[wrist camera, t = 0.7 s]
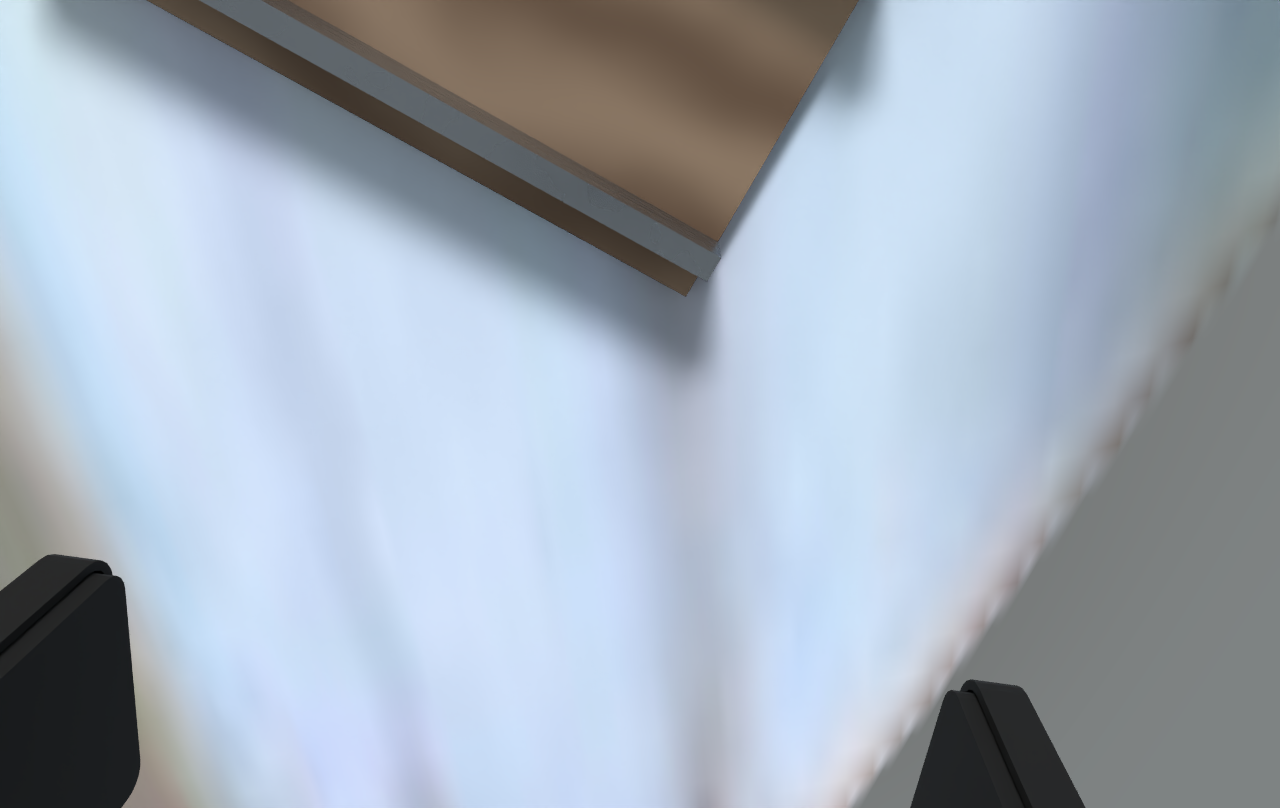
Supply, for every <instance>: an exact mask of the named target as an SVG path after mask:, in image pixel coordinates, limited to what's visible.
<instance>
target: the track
mask: <svg viewBox="0 0 1280 808" xmlns="http://www.w3.org/2000/svg"><path fill="white" fill-rule="evenodd" d="M147 1H149V2H151V3H153V4H154V5H156V6H158V7H160V8H162V9H164V10H165V11H167V12H169V13H171V14H173V15H174V16H176V17H178V18H180V19H182V20H184V21H185V22H187V23H189V24H191V25H193V26H194V27H196V28H198V29H200V30H202V31H204V32H205V33H207V34H209V35H211V36H213V37H214V38H216V39H218V40H220V41H222V42H224V43H225V44H227V45H229V46H231V47H233V48H234V49H236V50H238V51H240V52H242V53H244V54H245V55H247V56H249V57H251V58H253V59H254V60H256V61H258V62H260V63H262V64H264V65H265V66H267V67H269V68H271V69H273V70H274V71H276V72H278V73H280V74H282V75H284V76H285V77H287V78H289V79H291V80H293V81H295V82H296V83H298V84H300V85H302V86H304V87H305V88H307V89H309V90H311V91H313V92H315V93H316V94H318V95H320V96H322V97H324V98H325V99H327V100H329V101H331V102H333V103H335V104H336V105H338V106H340V107H342V108H344V109H345V110H347V111H349V112H351V113H353V114H355V115H356V116H358V117H360V118H362V119H364V120H365V121H367V122H369V123H371V124H373V125H375V126H376V127H378V128H380V129H382V130H384V131H385V132H387V133H389V134H391V135H393V136H395V137H396V138H398V139H400V140H402V141H404V142H405V143H407V144H409V145H411V146H413V147H415V148H416V149H418V150H420V151H422V152H424V153H425V154H427V155H429V156H431V157H433V158H435V159H436V160H438V161H440V162H442V163H444V164H445V165H447V166H449V167H451V168H453V169H455V170H456V171H458V172H460V173H462V174H464V175H465V176H467V177H469V178H471V179H473V180H475V181H476V182H478V183H480V184H482V185H484V186H486V187H487V188H489V189H491V190H493V191H495V192H496V193H498V194H500V195H502V196H504V197H506V198H507V199H509V200H511V201H513V202H515V203H516V204H518V205H520V206H522V207H524V208H526V209H527V210H529V211H531V212H533V213H535V214H536V215H538V216H540V217H542V218H544V219H546V220H547V221H549V222H551V223H553V224H555V225H556V226H558V227H560V228H562V229H564V230H566V231H567V232H569V233H571V234H573V235H575V236H576V237H578V238H580V239H582V240H584V241H586V242H587V243H589V244H591V245H593V246H595V247H596V248H598V249H600V250H602V251H604V252H606V253H607V254H609V255H611V256H613V257H615V258H616V259H618V260H620V261H622V262H624V263H626V264H627V265H629V266H631V267H633V268H635V269H636V270H638V271H640V272H642V273H644V274H646V275H647V276H649V277H651V278H653V279H655V280H656V281H658V282H660V283H662V284H664V285H666V286H667V287H669V288H671V289H673V290H675V291H676V292H678V293H680V294H682V295H684V296H687V294H688V292H689V290H690V289H691V287H692V285H693V284H694V282H695V280H696V278H697V277H699V278H701V279H703V280H705V281H708V279H709V277H710V276H711V274H712V272H713V271H714V269H715V267H716V265H717V264H718V262H719V260H720V259H721V255H720V250H719V245H718V241H719V239H720V237H721V236H722V234H723V232H724V230H725V229H726V227H727V225H728V224H729V222H730V220H731V218H732V217H733V215H734V213H735V212H736V210H737V208H738V206H739V205H740V203H741V201H742V200H743V198H744V196H745V194H746V193H747V191H748V189H749V188H750V186H751V184H752V182H753V181H754V179H755V177H756V176H757V174H758V172H759V170H760V169H761V167H762V165H763V164H764V162H765V160H766V158H767V157H768V155H769V153H770V152H771V150H772V148H773V146H774V145H775V143H776V141H777V140H778V138H779V136H780V134H781V133H782V131H783V129H784V128H785V126H786V124H787V122H788V121H789V119H790V117H791V116H792V114H793V112H794V110H795V109H796V107H797V105H798V104H799V102H800V100H801V98H802V97H803V95H804V93H805V92H806V90H807V88H808V86H809V85H810V83H811V81H812V80H813V78H814V76H815V74H816V73H817V71H818V69H819V68H820V66H821V64H822V62H823V61H824V59H825V57H826V56H827V54H828V52H829V50H830V49H831V47H832V45H833V44H834V42H835V40H836V38H837V37H838V35H839V33H840V32H841V30H842V28H843V26H844V25H845V23H846V21H847V20H848V18H849V16H850V14H851V13H852V11H853V9H854V8H855V6H856V4H857V2H858V1H859V0H147Z"/></svg>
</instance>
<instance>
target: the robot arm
mask: <svg viewBox="0 0 1280 808" xmlns="http://www.w3.org/2000/svg"><path fill="white" fill-rule="evenodd" d="M139 770H140V751H139V740H138V729H137V718H136V706H135V695H134V684H133V672H132V661H131V650H130V639H129V627H128V616H127V605H126V594H125V586H124V582H123V581H122V579H121V578H120V577H118V576H113V575H112V571H111V568H110V567H109V565H108V564H107V563H105V562H103V561H101V560H93V559H86V558H79V557H71V556H64V555H57V554H53V555H47V556H45V557H43V558H42V559H40V560H39V561H37V562H36V563H35V564H34V565H32V566H31V567H30V568H29V569H27V570H26V571H25V572H24V573H22V574H21V575H20V576H19V577H17V578H16V579H15V580H14V581H12V582H11V583H10V584H9V585H7V586H6V587H5V588H4V589H2V590H1V591H0V808H121V807H122V806H123V805H124V803H125V802H126V801H127V799H128V798H129V796H130V795H131V793H132V791H133V789H134V787H135V785H136V782H137V779H138V775H139ZM910 808H1085V806H1084V804H1083V802H1082V800H1081V798H1080V797H1079V794H1078V792H1077V791H1076V789H1075V787H1074V785H1073V783H1072V781H1071V779H1070V777H1069V775H1068V773H1067V771H1066V769H1065V767H1064V765H1063V763H1062V762H1061V760H1060V758H1059V756H1058V754H1057V752H1056V750H1055V748H1054V746H1053V744H1052V742H1051V740H1050V738H1049V736H1048V734H1047V733H1046V731H1045V729H1044V727H1043V725H1042V723H1041V721H1040V719H1039V717H1038V715H1037V713H1036V711H1035V709H1034V707H1033V705H1032V703H1031V702H1030V699H1029V698H1028V696H1027V694H1026V693H1025V691H1024V690H1023V689H1022V688H1021V687H1019V686H1015V685H1008V684H1007V685H1006V684H1000V683H993V682H985V681H978V680H968V681H966V682H965V683H964V684H963V686H962V688H961V690H960V691H953V690H950V691H948V692H947V694H946V695H945V697H944V700H943V703H942V706H941V709H940V713H939V716H938V719H937V722H936V726H935V729H934V732H933V736H932V739H931V742H930V746H929V749H928V752H927V755H926V758H925V762H924V765H923V768H922V772H921V775H920V778H919V781H918V785H917V788H916V791H915V794H914V798H913V801H912V804H911V807H910Z"/></svg>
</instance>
